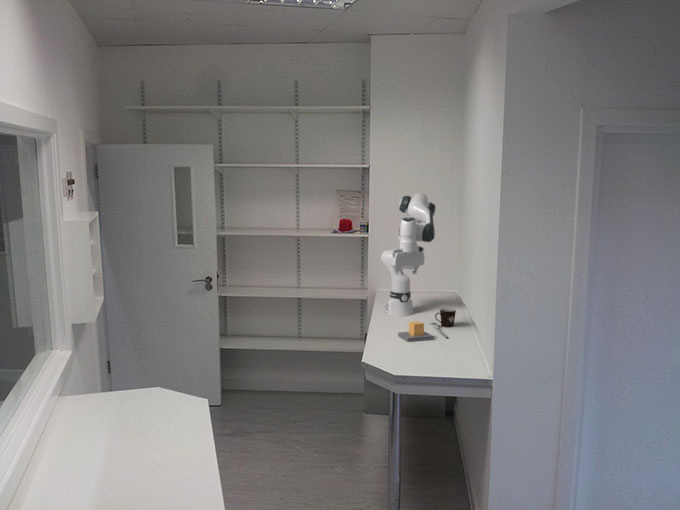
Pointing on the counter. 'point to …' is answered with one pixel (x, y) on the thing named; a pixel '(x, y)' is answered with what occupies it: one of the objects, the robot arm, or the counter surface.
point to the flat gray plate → (414, 337)
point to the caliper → (439, 329)
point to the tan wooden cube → (416, 328)
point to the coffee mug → (447, 317)
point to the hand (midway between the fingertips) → (407, 274)
